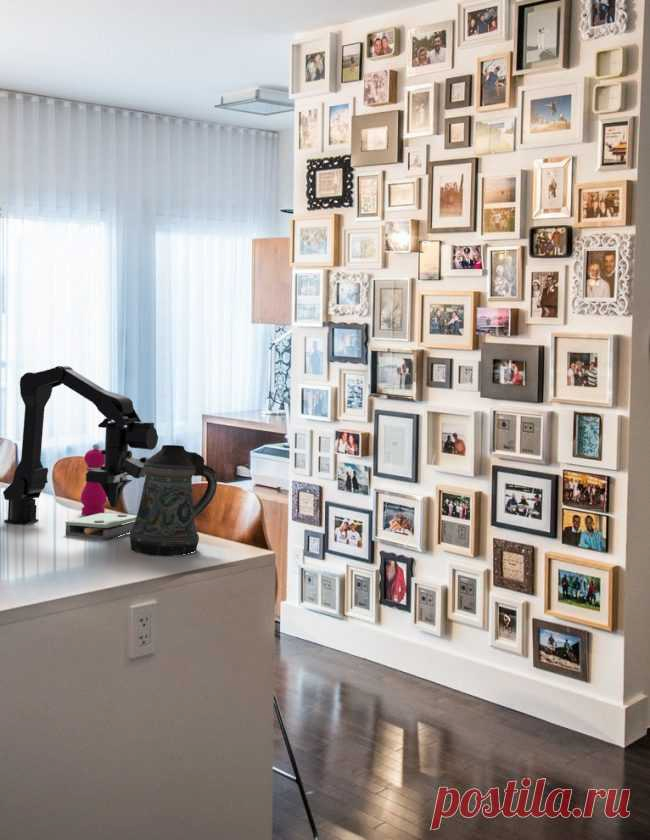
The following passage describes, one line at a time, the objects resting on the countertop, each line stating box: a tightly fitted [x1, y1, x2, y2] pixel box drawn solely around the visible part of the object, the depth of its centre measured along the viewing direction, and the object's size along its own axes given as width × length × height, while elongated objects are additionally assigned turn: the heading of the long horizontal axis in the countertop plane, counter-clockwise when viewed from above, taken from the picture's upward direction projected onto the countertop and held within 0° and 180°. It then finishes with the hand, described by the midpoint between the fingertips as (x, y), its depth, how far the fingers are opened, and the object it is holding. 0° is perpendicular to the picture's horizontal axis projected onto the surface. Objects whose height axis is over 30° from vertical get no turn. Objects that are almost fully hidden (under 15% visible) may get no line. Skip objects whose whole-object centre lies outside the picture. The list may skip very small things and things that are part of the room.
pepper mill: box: [80, 443, 108, 516], centre depth 285 cm, size 7×7×20 cm
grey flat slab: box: [65, 521, 135, 541], centre depth 259 cm, size 12×16×2 cm
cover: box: [64, 512, 137, 528], centre depth 259 cm, size 12×16×1 cm
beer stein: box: [129, 444, 218, 557], centre depth 243 cm, size 16×19×25 cm
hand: (113, 507), depth 258 cm, fingers closed
